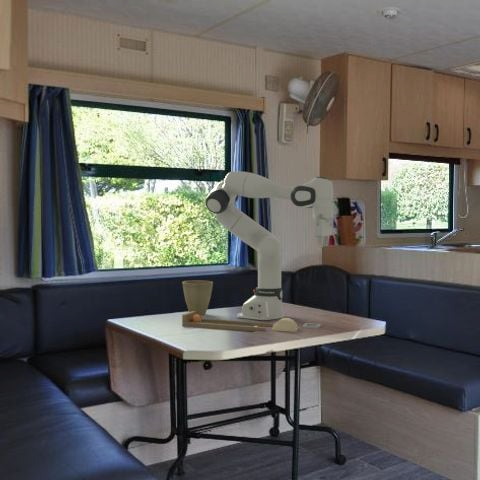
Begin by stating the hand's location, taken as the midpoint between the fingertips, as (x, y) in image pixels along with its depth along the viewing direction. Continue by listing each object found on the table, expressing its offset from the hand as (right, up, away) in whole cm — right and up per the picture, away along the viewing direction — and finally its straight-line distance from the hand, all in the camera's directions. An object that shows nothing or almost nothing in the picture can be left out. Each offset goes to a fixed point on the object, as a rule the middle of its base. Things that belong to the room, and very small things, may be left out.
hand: (323, 246), depth 255 cm
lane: (-36, -40, 0) cm, 54 cm away
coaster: (-5, -35, -1) cm, 35 cm away
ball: (-53, -33, +7) cm, 63 cm away
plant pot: (-57, -34, +33) cm, 74 cm away
